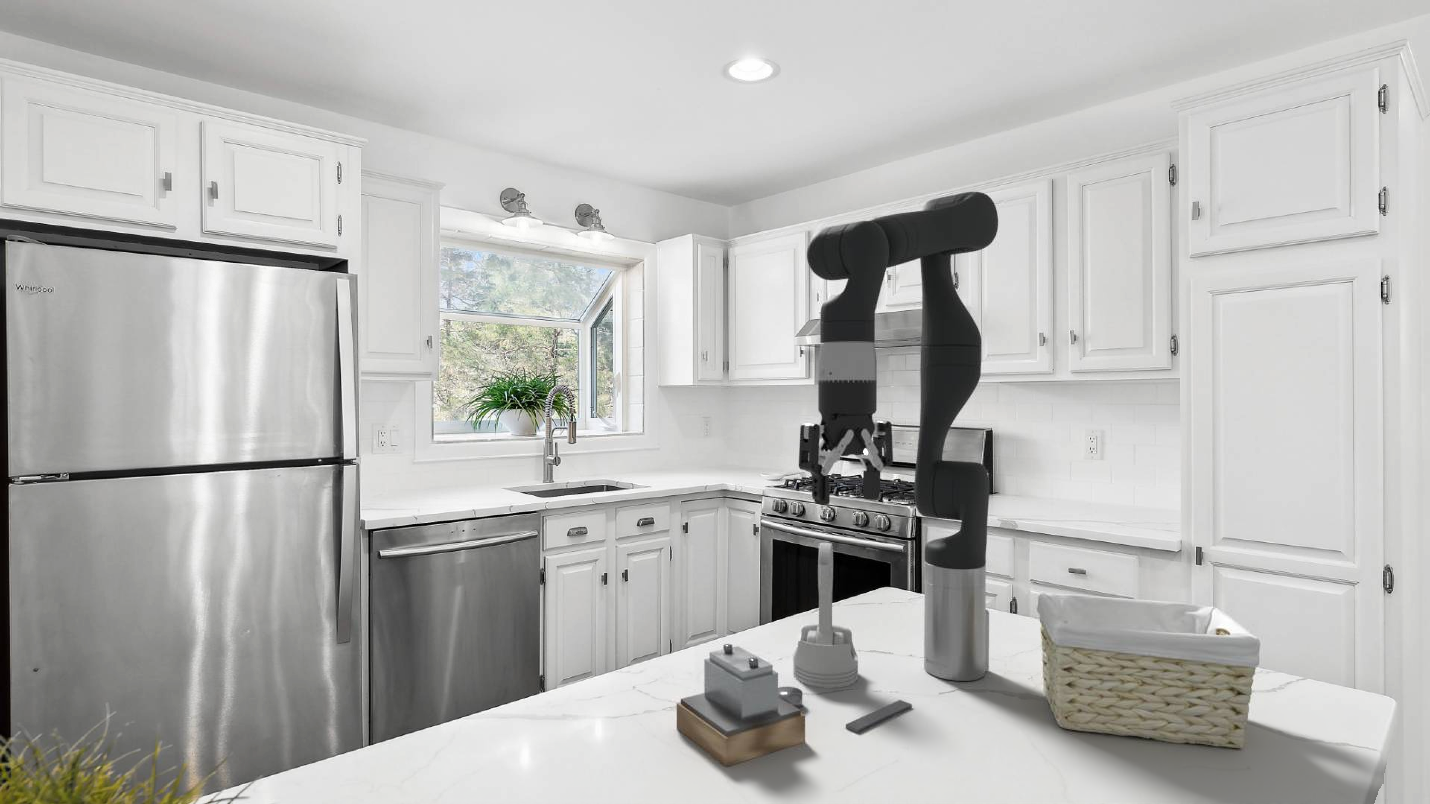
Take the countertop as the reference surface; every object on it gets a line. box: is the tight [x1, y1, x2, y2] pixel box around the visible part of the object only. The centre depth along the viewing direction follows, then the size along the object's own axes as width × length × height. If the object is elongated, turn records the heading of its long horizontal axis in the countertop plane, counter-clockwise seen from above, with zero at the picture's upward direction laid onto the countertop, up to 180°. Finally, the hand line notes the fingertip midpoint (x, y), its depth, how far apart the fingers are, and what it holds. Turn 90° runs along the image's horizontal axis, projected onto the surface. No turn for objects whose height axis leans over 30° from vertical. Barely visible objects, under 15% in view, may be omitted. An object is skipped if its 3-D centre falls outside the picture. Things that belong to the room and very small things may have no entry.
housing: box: [703, 643, 779, 722], centre depth 99 cm, size 9×6×7 cm, turn 31°
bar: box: [845, 699, 913, 734], centre depth 104 cm, size 12×2×1 cm, turn 131°
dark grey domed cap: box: [778, 686, 803, 710], centre depth 108 cm, size 4×4×2 cm
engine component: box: [792, 542, 859, 689], centre depth 120 cm, size 11×20×10 cm
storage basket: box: [1036, 592, 1261, 749], centre depth 103 cm, size 24×16×15 cm
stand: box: [676, 692, 806, 768], centre depth 99 cm, size 12×12×4 cm
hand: (847, 501), depth 100 cm, fingers open, 8 cm apart
